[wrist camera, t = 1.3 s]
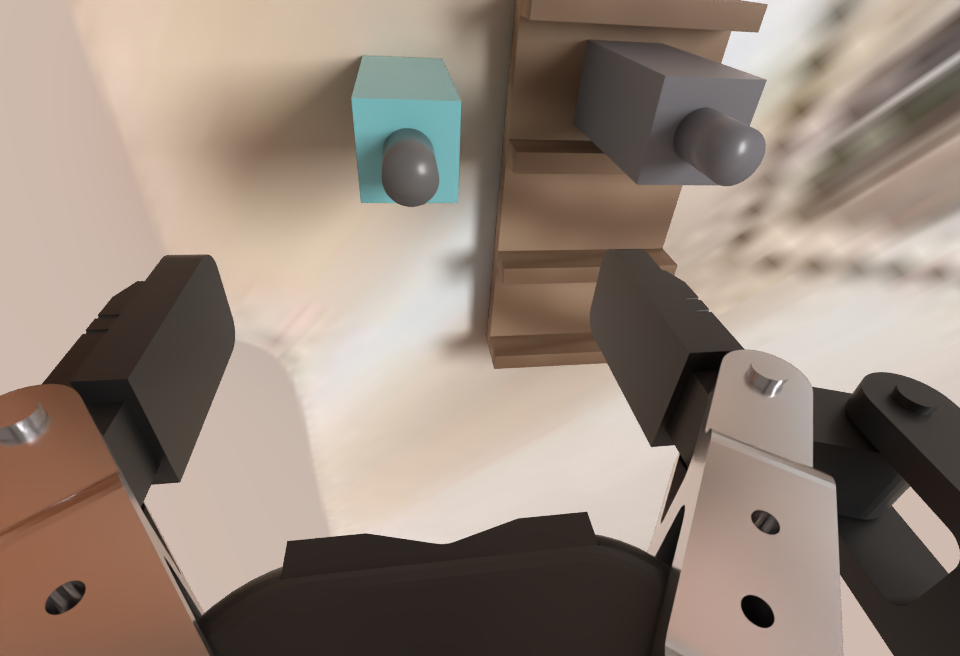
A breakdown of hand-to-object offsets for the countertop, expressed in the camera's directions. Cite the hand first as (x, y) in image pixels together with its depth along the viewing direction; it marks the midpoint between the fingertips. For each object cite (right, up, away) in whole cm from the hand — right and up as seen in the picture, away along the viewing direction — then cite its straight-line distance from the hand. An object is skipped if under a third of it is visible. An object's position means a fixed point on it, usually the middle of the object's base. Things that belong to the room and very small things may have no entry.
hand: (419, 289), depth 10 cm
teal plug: (-2, +10, +13) cm, 17 cm away
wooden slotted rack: (+7, +7, +18) cm, 20 cm away
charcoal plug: (+8, +11, +13) cm, 18 cm away
